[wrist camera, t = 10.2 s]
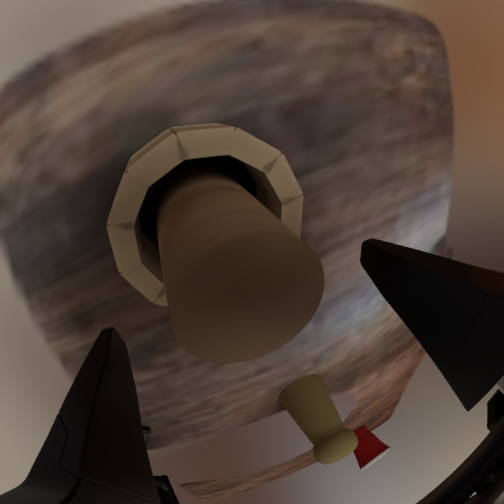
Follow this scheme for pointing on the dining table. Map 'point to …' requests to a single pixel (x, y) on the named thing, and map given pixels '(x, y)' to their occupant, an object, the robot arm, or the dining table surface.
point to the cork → (318, 419)
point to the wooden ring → (166, 158)
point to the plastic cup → (368, 448)
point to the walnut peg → (231, 268)
